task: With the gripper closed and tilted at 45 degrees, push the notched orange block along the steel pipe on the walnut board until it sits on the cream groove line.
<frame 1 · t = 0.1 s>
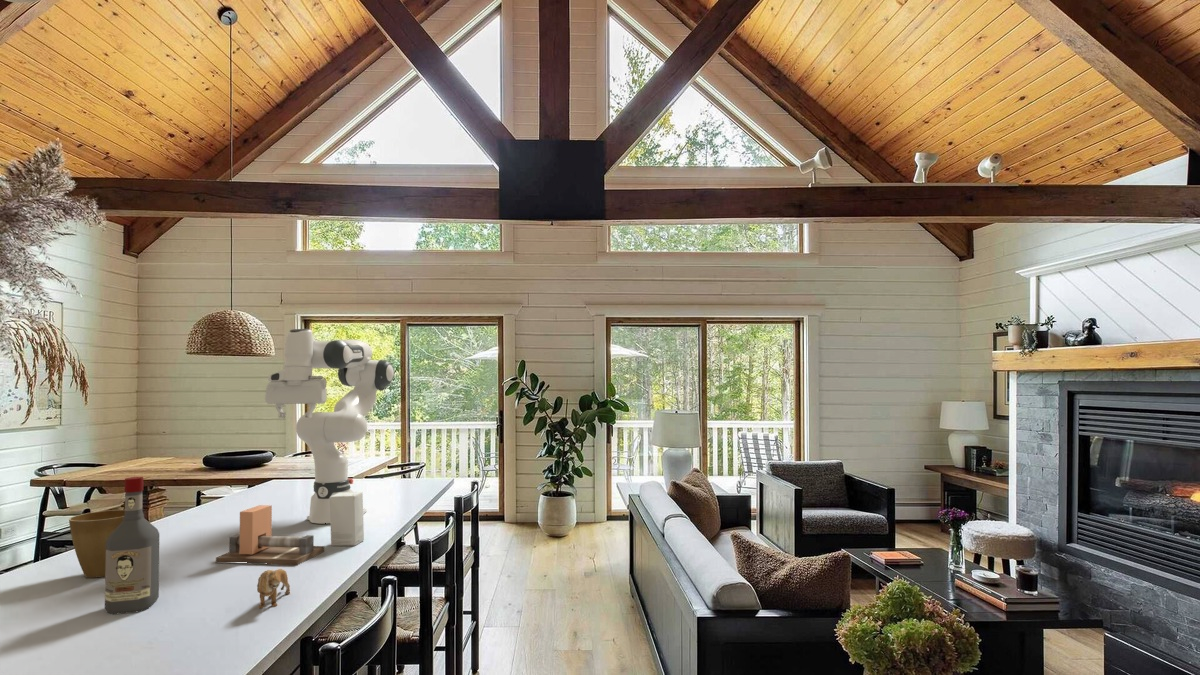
hand: (295, 417, 221), 39 cm above the table, tool pointing down, fingers open, 8 cm apart
pipe stand: (271, 556, 196), on the table
skincare box: (346, 544, 210), on the table
notched orange block: (255, 529, 197), point 8 cm above the table, slide at 0.0 cm
plant pot: (102, 574, 182), on the table
lion figurine: (274, 603, 159), on the table
liquor: (132, 607, 156), on the table
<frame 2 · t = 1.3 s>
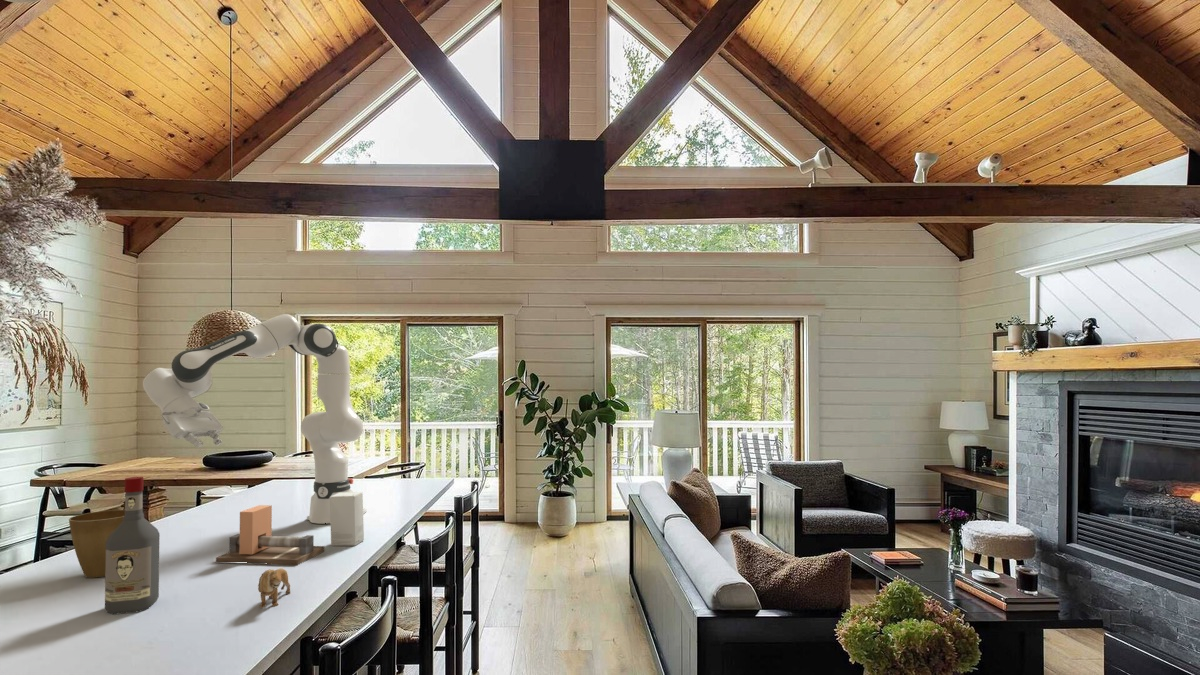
hand: (210, 444, 206), 32 cm above the table, tool tilted 45°, fingers open, 8 cm apart
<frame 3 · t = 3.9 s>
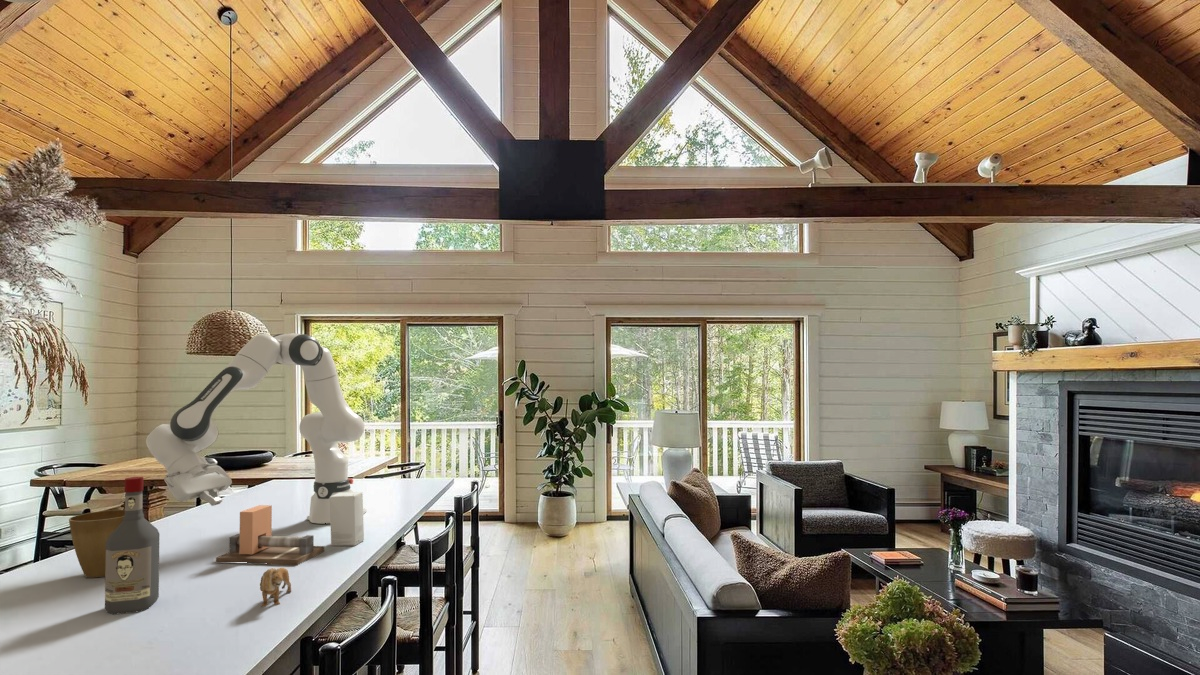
hand: (217, 503, 199), 15 cm above the table, tool tilted 45°, fingers closed
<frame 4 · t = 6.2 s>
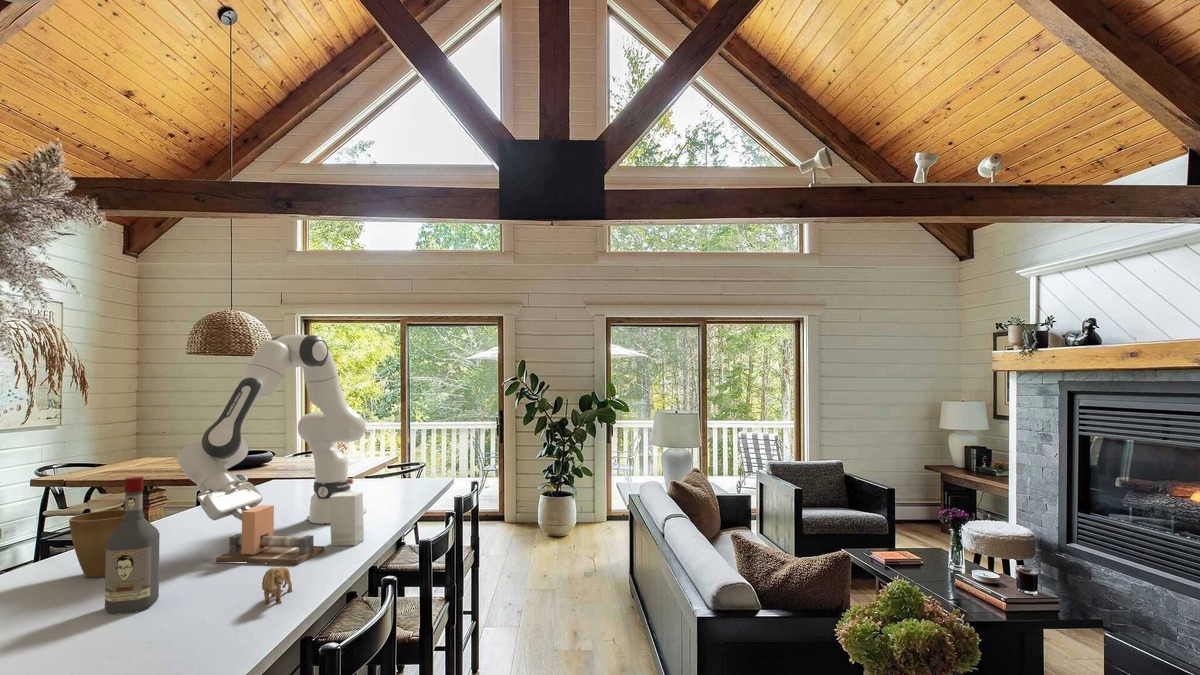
hand: (250, 521, 197), 10 cm above the table, tool tilted 45°, fingers closed, pressing on notched orange block
notched orange block: (258, 529, 197), point 8 cm above the table, slide at 0.7 cm, touching gripper
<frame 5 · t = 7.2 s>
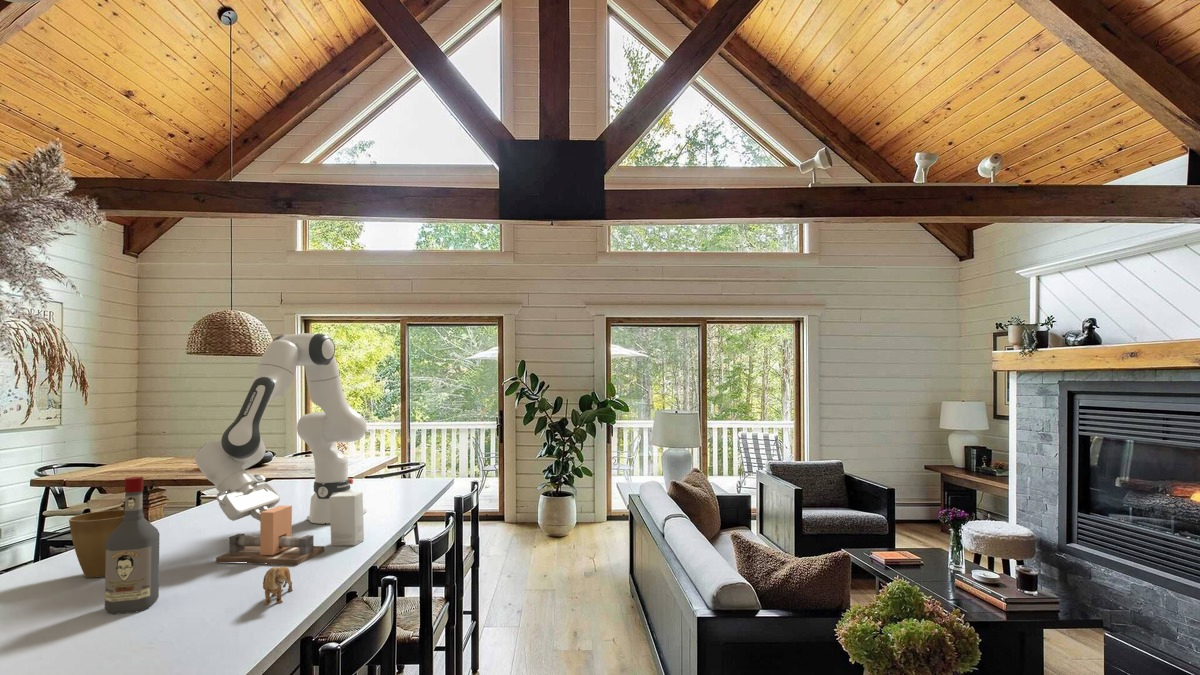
hand: (268, 521, 197), 10 cm above the table, tool tilted 45°, fingers closed, pressing on notched orange block
notched orange block: (276, 529, 196), point 8 cm above the table, slide at 6.5 cm, touching gripper
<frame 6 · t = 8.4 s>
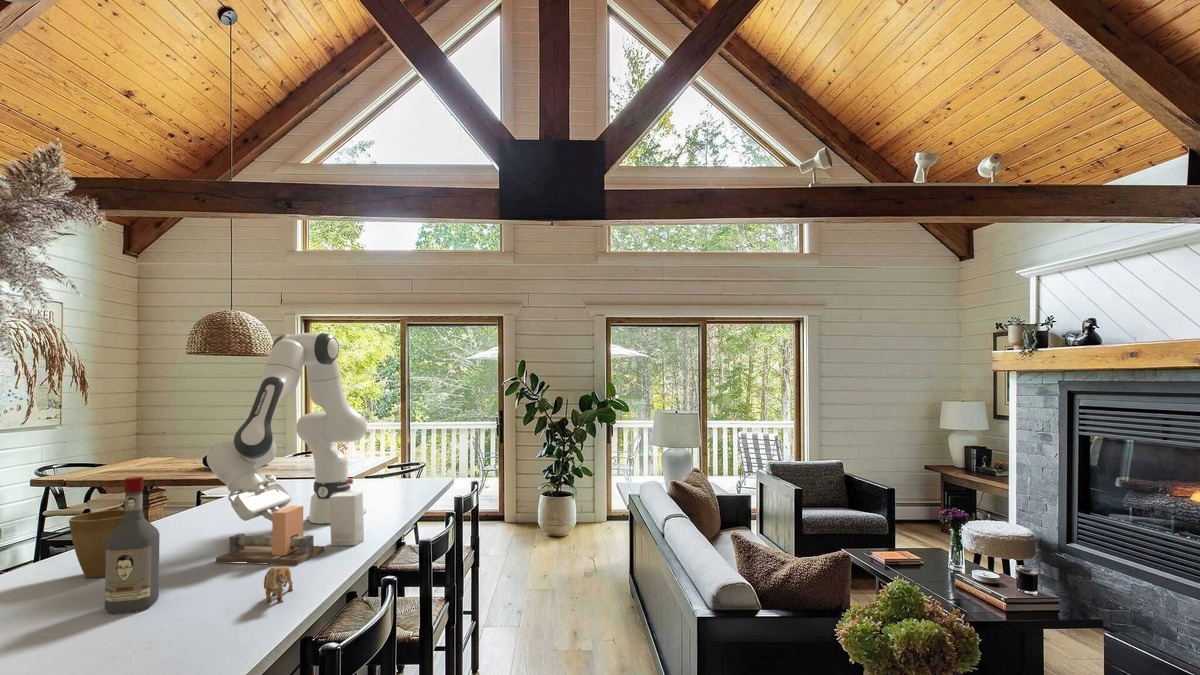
hand: (279, 521, 196), 10 cm above the table, tool tilted 45°, fingers closed, pressing on notched orange block
notched orange block: (288, 529, 196), point 8 cm above the table, slide at 10.2 cm, touching gripper
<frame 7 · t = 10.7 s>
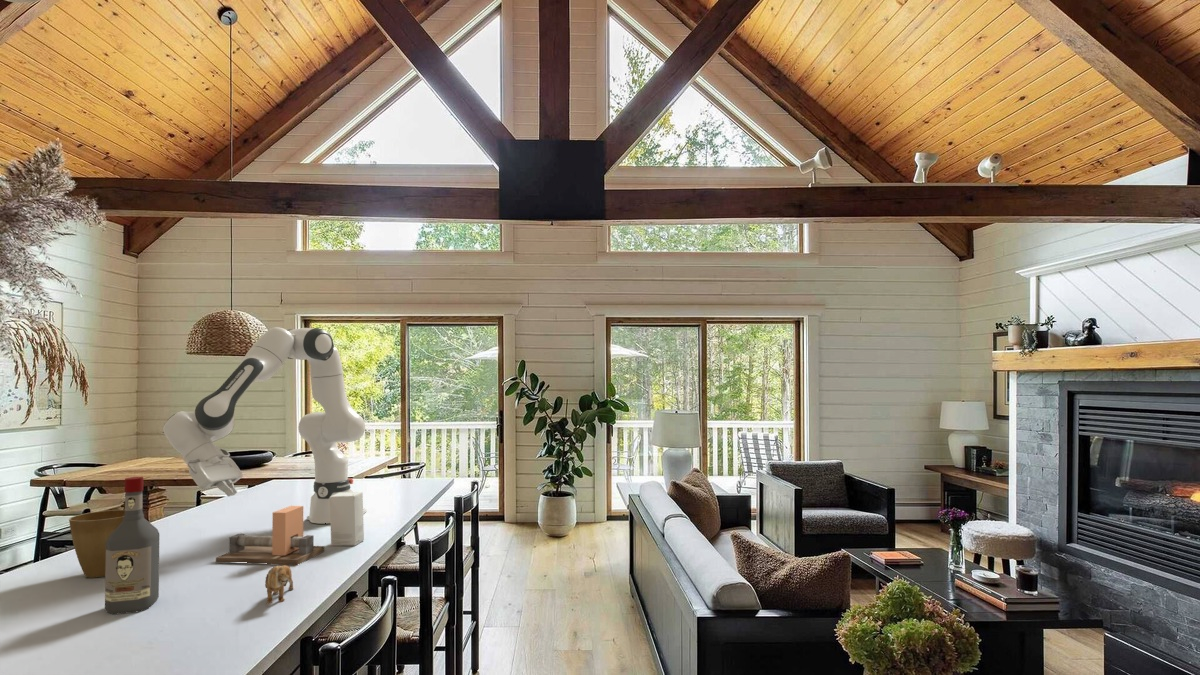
hand: (233, 494, 200), 18 cm above the table, tool tilted 40°, fingers closed
notched orange block: (288, 529, 196), point 8 cm above the table, slide at 10.2 cm
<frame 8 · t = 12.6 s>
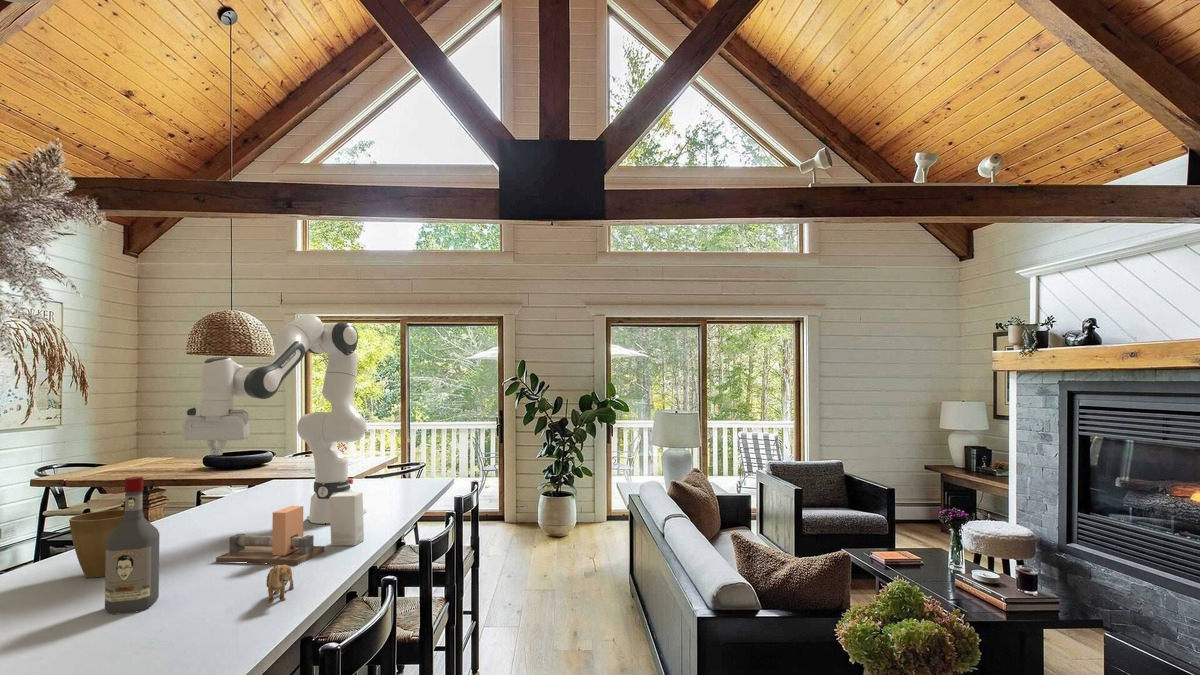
hand: (216, 455, 204), 29 cm above the table, tool pointing down, fingers closed
at the end: notched orange block slide at 10.2 cm; the gripper is holding nothing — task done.
